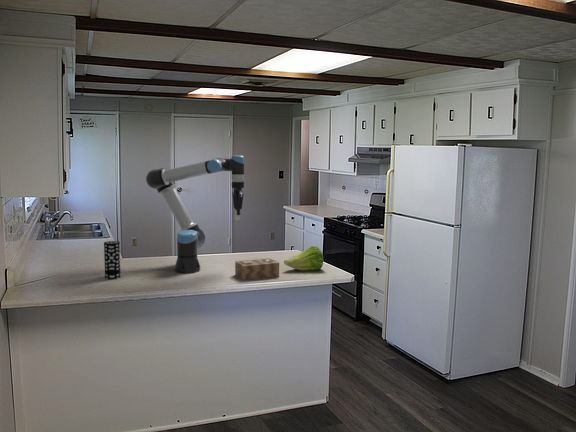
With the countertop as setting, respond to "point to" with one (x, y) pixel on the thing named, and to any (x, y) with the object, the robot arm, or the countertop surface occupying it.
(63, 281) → the countertop surface
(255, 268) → the socket block
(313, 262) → the lettuce
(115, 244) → the white-spotted black cylinder
